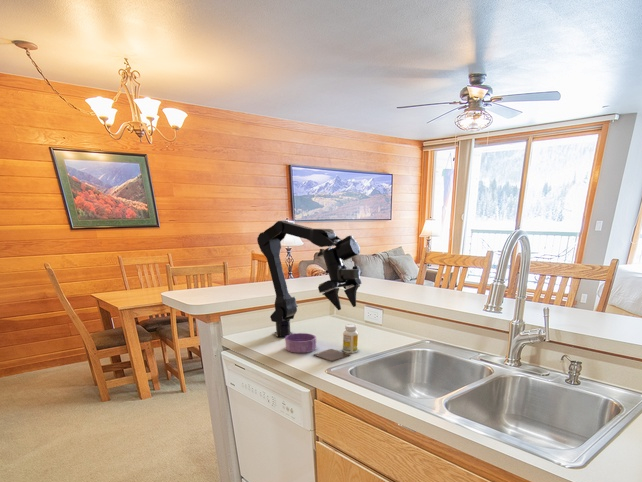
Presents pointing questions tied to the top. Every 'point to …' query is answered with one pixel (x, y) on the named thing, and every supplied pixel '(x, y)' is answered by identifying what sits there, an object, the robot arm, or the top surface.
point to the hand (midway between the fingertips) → (347, 308)
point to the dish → (300, 342)
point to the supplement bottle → (350, 339)
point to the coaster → (331, 355)
